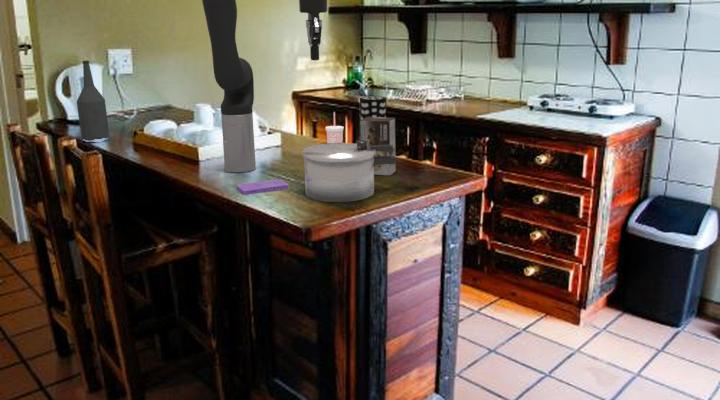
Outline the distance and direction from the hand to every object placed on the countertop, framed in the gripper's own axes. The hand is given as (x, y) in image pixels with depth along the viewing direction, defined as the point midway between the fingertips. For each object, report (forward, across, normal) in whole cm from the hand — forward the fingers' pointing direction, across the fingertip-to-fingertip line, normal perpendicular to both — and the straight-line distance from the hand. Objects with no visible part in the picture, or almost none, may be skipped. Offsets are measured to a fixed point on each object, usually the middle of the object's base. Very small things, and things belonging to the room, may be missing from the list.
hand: (314, 60), depth 172 cm
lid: (+23, +19, +5) cm, 30 cm away
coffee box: (+33, 0, +18) cm, 38 cm away
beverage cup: (+33, -30, +10) cm, 46 cm away
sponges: (+34, +10, -17) cm, 39 cm away
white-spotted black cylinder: (+33, -16, +20) cm, 42 cm away
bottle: (+33, -76, -75) cm, 112 cm away
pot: (+33, +19, +6) cm, 39 cm away
